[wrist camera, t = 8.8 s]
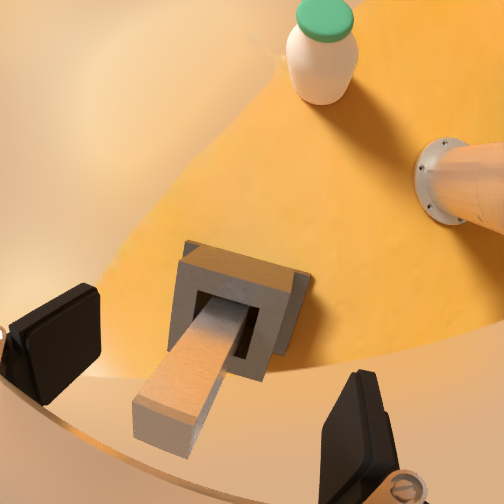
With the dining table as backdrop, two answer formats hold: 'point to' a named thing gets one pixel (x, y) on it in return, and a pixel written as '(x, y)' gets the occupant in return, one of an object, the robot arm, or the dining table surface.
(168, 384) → the column
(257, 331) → the housing
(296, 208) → the dining table surface
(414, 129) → the dining table surface
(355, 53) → the milk bottle
